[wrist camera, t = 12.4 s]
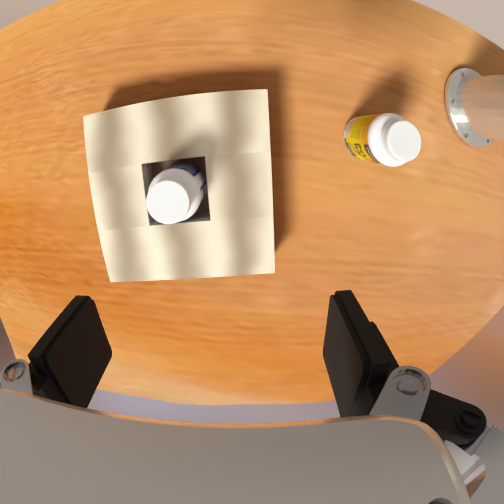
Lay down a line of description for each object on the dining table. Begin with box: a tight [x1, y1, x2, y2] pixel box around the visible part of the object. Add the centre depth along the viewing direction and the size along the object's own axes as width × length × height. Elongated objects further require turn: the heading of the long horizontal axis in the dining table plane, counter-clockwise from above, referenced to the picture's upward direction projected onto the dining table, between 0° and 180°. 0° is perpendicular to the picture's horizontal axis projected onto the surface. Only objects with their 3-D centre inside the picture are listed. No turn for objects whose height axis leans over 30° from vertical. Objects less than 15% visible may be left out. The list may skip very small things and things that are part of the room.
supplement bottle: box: [344, 113, 421, 167], centre depth 27 cm, size 6×6×10 cm
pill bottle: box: [146, 163, 206, 224], centre depth 28 cm, size 5×5×9 cm
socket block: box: [83, 89, 275, 282], centre depth 31 cm, size 20×20×4 cm
